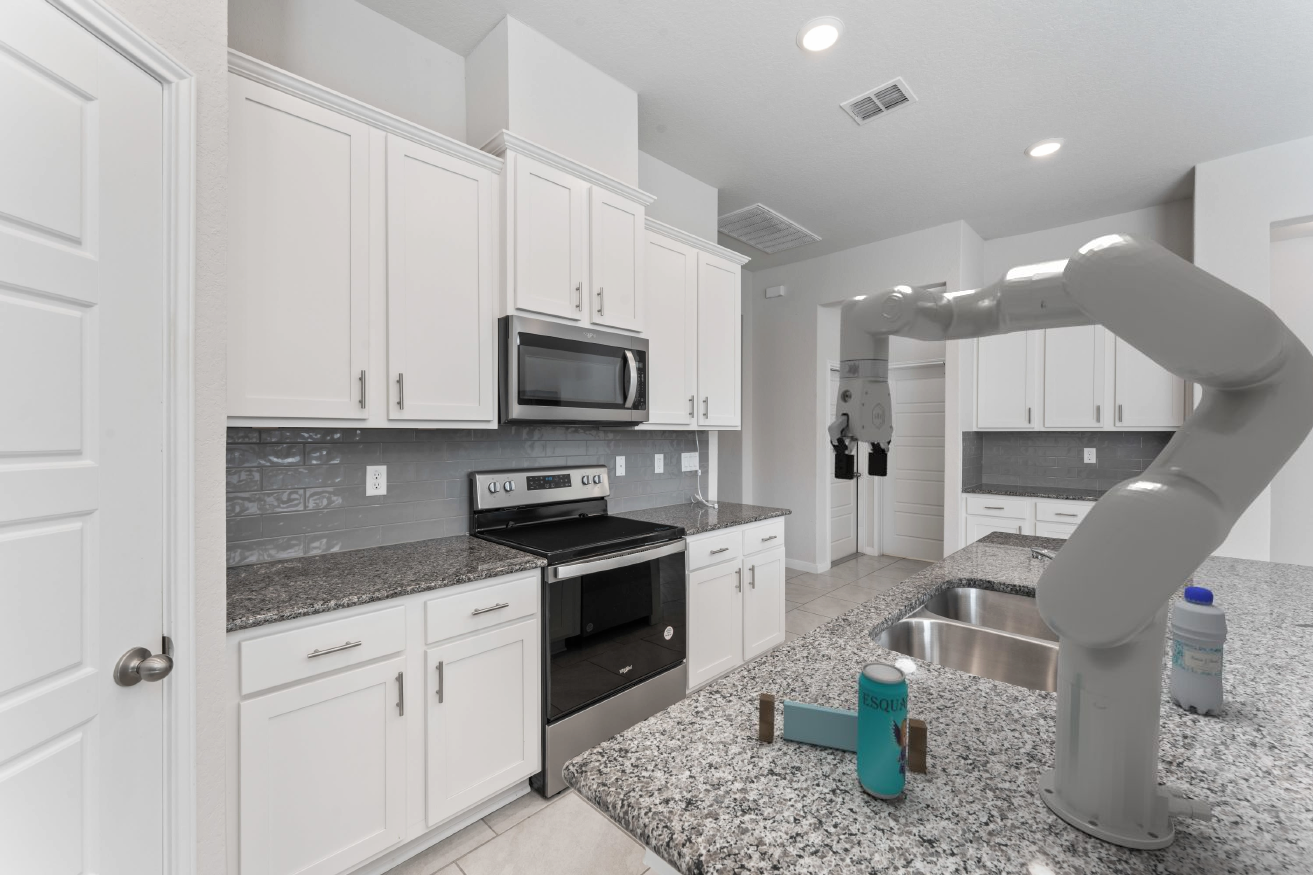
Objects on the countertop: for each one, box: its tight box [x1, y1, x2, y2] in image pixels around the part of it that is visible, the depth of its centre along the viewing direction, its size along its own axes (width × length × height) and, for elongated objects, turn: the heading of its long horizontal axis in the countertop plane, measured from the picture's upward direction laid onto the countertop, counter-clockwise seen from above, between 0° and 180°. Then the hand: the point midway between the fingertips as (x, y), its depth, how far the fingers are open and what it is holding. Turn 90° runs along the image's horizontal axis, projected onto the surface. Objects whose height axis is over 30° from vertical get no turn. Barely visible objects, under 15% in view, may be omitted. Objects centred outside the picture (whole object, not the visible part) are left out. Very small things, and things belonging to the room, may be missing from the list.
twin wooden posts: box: [758, 692, 928, 774], centre depth 77 cm, size 22×2×6 cm, turn 72°
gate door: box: [782, 699, 858, 753], centre depth 77 cm, size 16×1×5 cm, turn 72°
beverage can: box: [856, 661, 909, 800], centre depth 69 cm, size 6×6×15 cm
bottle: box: [1168, 586, 1229, 716], centre depth 90 cm, size 7×7×20 cm
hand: (861, 477), depth 90 cm, fingers open, 9 cm apart
